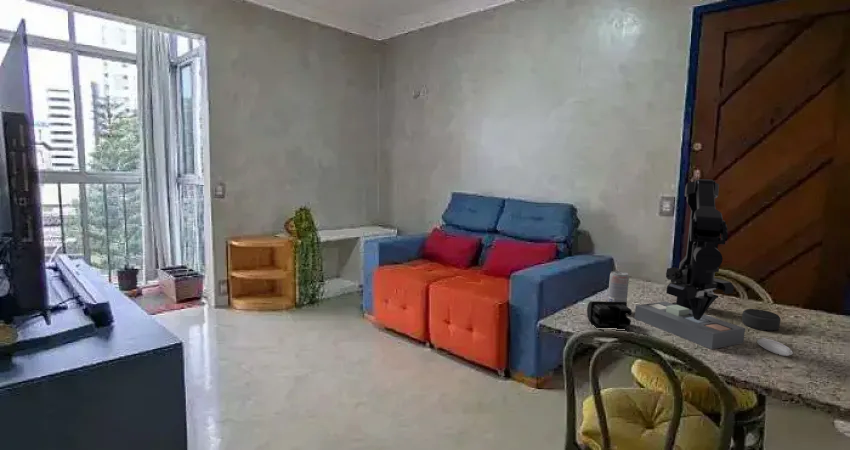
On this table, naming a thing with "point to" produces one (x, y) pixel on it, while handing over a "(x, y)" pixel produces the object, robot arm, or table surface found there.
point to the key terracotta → (718, 327)
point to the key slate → (697, 320)
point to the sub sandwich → (774, 347)
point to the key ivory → (658, 306)
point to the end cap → (609, 314)
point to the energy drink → (618, 286)
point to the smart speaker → (761, 319)
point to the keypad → (690, 326)
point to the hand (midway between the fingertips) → (696, 319)
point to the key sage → (677, 310)
